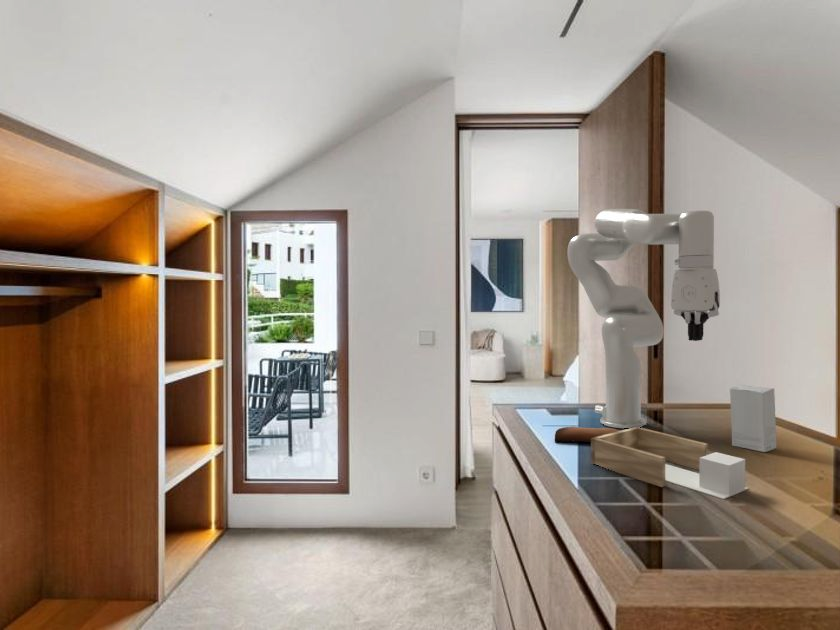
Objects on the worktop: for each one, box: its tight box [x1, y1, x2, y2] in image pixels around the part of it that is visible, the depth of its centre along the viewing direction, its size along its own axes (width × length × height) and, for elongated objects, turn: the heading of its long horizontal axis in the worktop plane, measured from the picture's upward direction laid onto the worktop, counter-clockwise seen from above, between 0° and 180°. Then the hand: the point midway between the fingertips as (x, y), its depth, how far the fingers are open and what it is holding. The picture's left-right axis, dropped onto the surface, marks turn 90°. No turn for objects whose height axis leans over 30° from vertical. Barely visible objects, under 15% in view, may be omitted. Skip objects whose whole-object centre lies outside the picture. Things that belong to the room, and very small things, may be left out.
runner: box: [665, 463, 749, 500], centre depth 123 cm, size 26×9×1 cm, turn 33°
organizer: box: [590, 427, 709, 488], centre depth 129 cm, size 16×18×6 cm
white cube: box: [698, 451, 746, 496], centre depth 115 cm, size 6×6×6 cm
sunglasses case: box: [554, 426, 621, 443], centre depth 150 cm, size 18×7×7 cm
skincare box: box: [729, 384, 777, 453], centre depth 141 cm, size 8×6×15 cm
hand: (695, 340), depth 138 cm, fingers closed
